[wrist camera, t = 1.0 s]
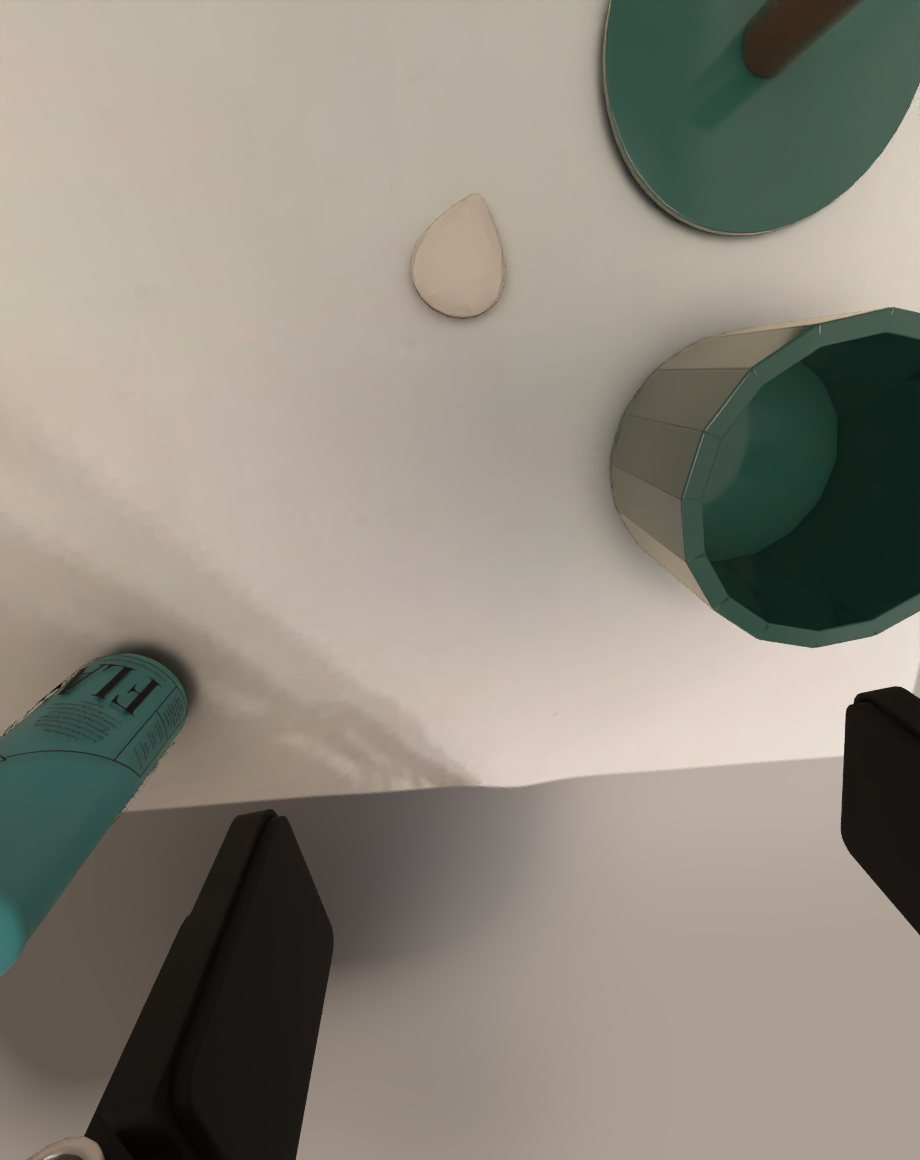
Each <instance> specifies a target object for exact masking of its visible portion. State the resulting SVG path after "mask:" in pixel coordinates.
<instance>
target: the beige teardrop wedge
mask: <svg viewBox="0 0 920 1160" xmlns="http://www.w3.org/2000/svg"><path fill="white" fill-rule="evenodd" d="M410 274H411V277H412V280H413V283H414V285H415V288H416V290H417V292H418V293H419V295H420V297H421V298H422V300H423V301H424V302H425V303H426V304H428V305H429V306H430V307H431V308H432V309H433V310H435V311H437V312H439V313H441V314H443V315H445V316H447V317H455V318H462V319H464V318H470V317H476V316H478V315H480V314H482V313H484V312H485V311H487V310H488V309H489V308H490V307H492V306H493V305H494V304H495V303H497V301H498V299H499V297H500V295H501V292H502V290H503V288H504V282H505V275H506V267H505V261H504V256H503V251H502V247H501V244H500V240H499V237H498V233H497V230H496V228H495V225H494V222H493V220H492V217H491V215H490V213H489V211H488V208H487V206H486V204H485V202H484V200H483V198H482V197H481V196H480V195H479V194H478V193H476V194H471V195H470V196H468V197H466V198H465V199H463V200H462V201H460V202H458V203H457V204H455V205H454V206H453V207H451V208H450V209H449V210H448V211H446V212H445V213H444V214H443V215H442V216H440V217H439V218H438V219H437V220H436V221H435V222H434V223H433V224H432V225H431V226H430V227H429V228H428V229H427V230H426V232H425V233H424V234H423V235H422V236H421V238H420V239H419V240H418V241H417V243H416V246H415V249H414V252H413V254H412V257H411V270H410Z"/></svg>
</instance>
